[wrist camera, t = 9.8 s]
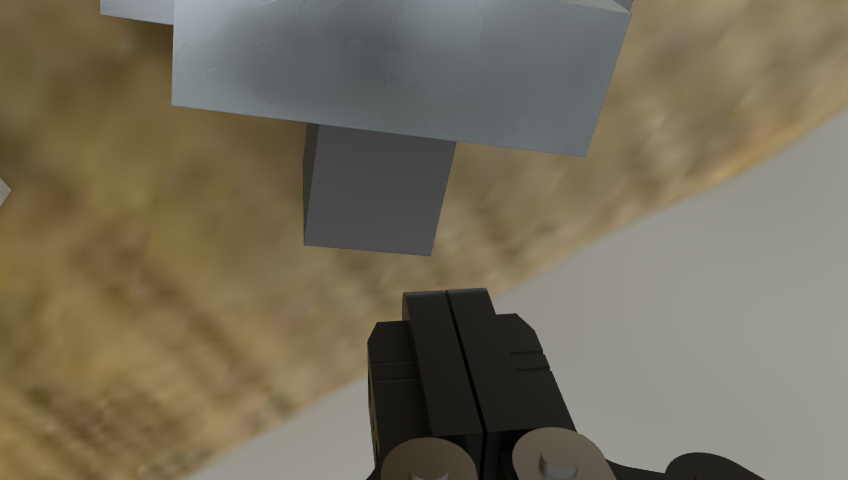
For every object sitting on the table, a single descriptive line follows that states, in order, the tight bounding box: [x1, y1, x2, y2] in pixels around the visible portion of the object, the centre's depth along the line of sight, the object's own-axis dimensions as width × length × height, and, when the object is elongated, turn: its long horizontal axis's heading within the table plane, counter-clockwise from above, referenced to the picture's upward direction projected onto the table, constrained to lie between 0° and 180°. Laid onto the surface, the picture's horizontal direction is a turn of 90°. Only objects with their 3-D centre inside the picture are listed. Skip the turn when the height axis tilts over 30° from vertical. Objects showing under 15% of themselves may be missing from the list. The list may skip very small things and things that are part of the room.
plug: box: [303, 123, 456, 256], centre depth 24 cm, size 4×13×6 cm, turn 169°
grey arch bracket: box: [100, 0, 633, 157], centre depth 22 cm, size 17×4×8 cm, turn 79°
